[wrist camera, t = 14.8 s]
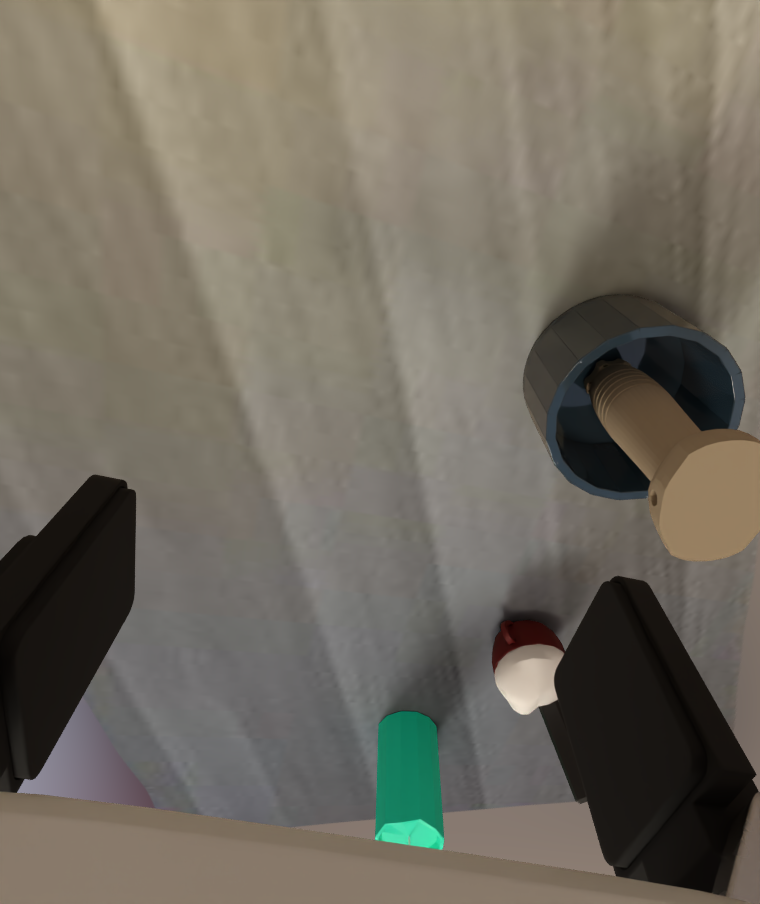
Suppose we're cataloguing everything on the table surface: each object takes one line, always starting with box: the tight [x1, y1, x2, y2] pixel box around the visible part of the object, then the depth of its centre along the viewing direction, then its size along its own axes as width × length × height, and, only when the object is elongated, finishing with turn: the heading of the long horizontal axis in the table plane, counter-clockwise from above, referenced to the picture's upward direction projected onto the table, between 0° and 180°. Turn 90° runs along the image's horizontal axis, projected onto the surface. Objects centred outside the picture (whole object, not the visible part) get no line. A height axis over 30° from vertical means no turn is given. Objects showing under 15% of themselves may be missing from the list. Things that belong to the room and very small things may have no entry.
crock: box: [523, 294, 745, 500], centre depth 36 cm, size 11×11×7 cm
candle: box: [375, 711, 444, 850], centre depth 52 cm, size 6×6×12 cm
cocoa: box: [492, 620, 587, 804], centre depth 46 cm, size 10×6×12 cm, turn 11°
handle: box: [584, 358, 760, 561], centre depth 32 cm, size 5×6×15 cm
